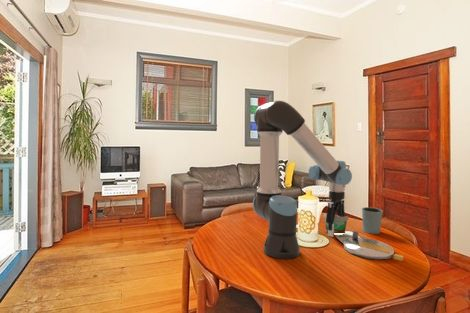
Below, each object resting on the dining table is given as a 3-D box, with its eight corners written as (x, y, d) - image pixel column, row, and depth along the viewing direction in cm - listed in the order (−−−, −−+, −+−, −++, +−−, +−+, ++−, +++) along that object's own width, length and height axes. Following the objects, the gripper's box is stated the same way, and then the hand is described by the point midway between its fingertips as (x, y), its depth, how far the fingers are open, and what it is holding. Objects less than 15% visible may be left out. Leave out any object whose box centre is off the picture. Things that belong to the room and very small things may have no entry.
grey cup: (377, 229, 160) (378, 207, 159) (384, 235, 150) (386, 212, 149) (358, 228, 161) (359, 206, 160) (364, 233, 151) (365, 211, 150)
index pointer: (393, 258, 119) (393, 255, 119) (394, 257, 121) (395, 253, 121) (401, 260, 117) (401, 257, 117) (402, 259, 119) (403, 256, 119)
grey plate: (340, 240, 139) (340, 229, 139) (385, 244, 135) (385, 232, 135) (348, 256, 120) (349, 243, 119) (400, 261, 116) (401, 248, 115)
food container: (321, 234, 148) (322, 215, 147) (322, 231, 154) (323, 212, 153) (347, 238, 143) (348, 218, 143) (347, 234, 149) (348, 215, 148)
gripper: (334, 194, 137) (332, 241, 138) (352, 189, 152) (351, 231, 154) (319, 192, 142) (317, 237, 143) (339, 187, 158) (337, 228, 159)
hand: (335, 234), depth 149 cm, fingers open, 9 cm apart
